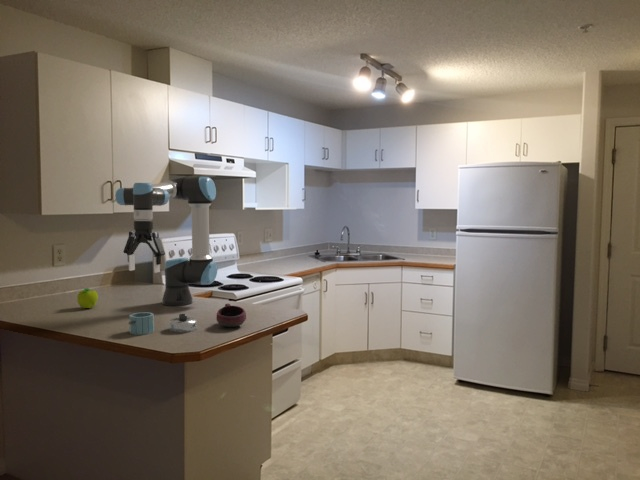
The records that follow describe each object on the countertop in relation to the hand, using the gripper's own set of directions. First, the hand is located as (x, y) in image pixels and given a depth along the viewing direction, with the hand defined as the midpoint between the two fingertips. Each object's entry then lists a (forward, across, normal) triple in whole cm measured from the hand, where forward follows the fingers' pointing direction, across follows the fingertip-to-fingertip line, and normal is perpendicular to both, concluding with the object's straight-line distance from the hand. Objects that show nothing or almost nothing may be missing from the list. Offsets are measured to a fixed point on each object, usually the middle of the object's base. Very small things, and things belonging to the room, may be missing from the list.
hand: (144, 271), depth 221 cm
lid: (+24, +15, +6) cm, 29 cm away
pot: (+24, +2, -4) cm, 25 cm away
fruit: (+24, -53, +18) cm, 61 cm away
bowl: (+24, +29, +19) cm, 42 cm away
